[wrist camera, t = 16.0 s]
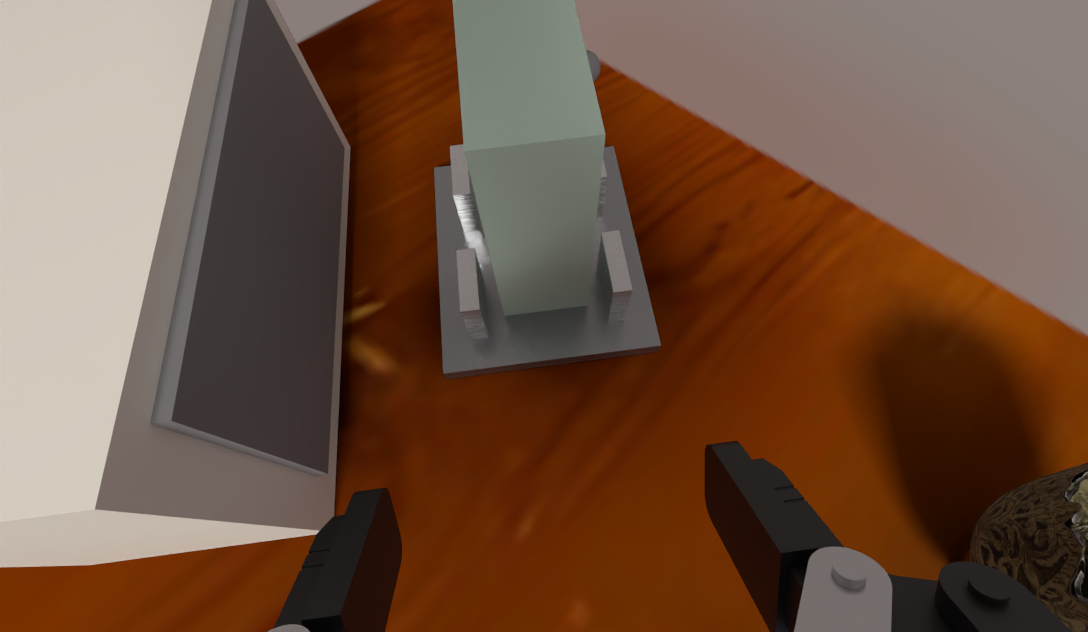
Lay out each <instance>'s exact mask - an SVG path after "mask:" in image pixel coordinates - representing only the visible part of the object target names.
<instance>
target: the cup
mask: <svg viewBox="0 0 1088 632" xmlns="http://www.w3.org/2000/svg"><path fill="white" fill-rule="evenodd" d="M961 561H966V562H974V563H979V564H983V565H986V566H989V567H992V568H994V569H997V570H999V571H1001V572H1003V573H1005V574H1007V575H1009V576H1010V577H1012V578H1014V579H1015V580H1017V581H1018V582H1019V583H1021V584H1022V585H1023V586H1024V587H1026V588H1027V589H1028V590H1029V591H1030V592H1031V593H1032V594H1033V595H1034V596H1035V597H1036V598H1037V599H1038V600H1039V601H1040V602H1042V603H1043V604H1044V605H1045V606H1046V607H1047V608H1048V609H1049V610H1050V611H1051V612H1052V613H1053V614H1054V615H1055V616H1056V617H1057V618H1058V619H1059V620H1061V621H1062V622H1063V623H1064V624H1065V625H1066V626H1067V627H1068V628H1069V629H1070V630H1071V631H1072V632H1088V463H1086V464H1082V465H1079V466H1076V467H1073V468H1070V469H1067V470H1063V471H1060V472H1057V473H1054V474H1051V475H1048V476H1045V477H1042V478H1039V479H1036V480H1034V481H1031V482H1028V483H1026V484H1024V485H1022V486H1019V487H1017V488H1015V489H1013V490H1011V491H1009V492H1008V493H1006V494H1004V495H1003V496H1001V497H1000V498H998V499H997V500H995V501H994V502H993V503H992V504H991V505H990V506H989V507H988V508H987V509H986V510H985V512H984V513H983V514H982V515H981V517H980V518H979V520H978V522H977V524H976V526H975V528H974V531H973V534H972V538H971V539H970V540H969V541H968V542H967V544H966V545H965V546H964V548H963V550H962V553H961V557H960V562H961Z"/></svg>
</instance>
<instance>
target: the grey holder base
mask: <svg viewBox="0 0 1088 632" xmlns="http://www.w3.org/2000/svg"><path fill="white" fill-rule="evenodd" d="M450 156H451V166H443V167H435V168H434V178H435V200H436V223H437V246H438V268H439V291H440V314H441V336H442V359H443V374H444V376H445V377H446V379H451V378H459V377H467V376H475V375H482V374H490V373H498V372H505V371H513V370H521V369H529V368H536V367H544V366H552V365H559V364H567V363H575V362H583V361H590V360H598V359H606V358H613V357H621V356H629V355H637V354H644V353H652V352H658V351H659V349H660V347H661V343H660V339H659V335H658V331H657V326H656V322H655V318H654V314H653V310H652V305H651V301H650V297H649V293H648V289H647V284H646V280H645V276H644V272H643V268H642V263H641V259H640V255H639V251H638V247H637V243H636V238H635V234H634V230H633V226H632V222H631V217H630V213H629V209H628V205H627V201H626V196H625V192H624V188H623V184H622V180H621V175H620V171H619V167H618V163H617V159H616V154H615V150H614V146H610V147H604V154H603V163H602V173H601V183H600V192H599V202H598V212H597V221H596V231H595V240H594V250H593V260H592V269H591V279H590V289H589V298H588V306H580V307H572V308H564V309H556V310H549V311H541V312H533V313H525V314H517V315H509V316H504V313H503V309H502V305H501V301H500V297H499V292H498V288H497V284H496V280H495V276H494V272H493V268H492V264H491V260H490V255H489V251H488V247H487V243H486V239H485V235H484V231H483V227H482V222H481V218H480V214H479V210H478V206H477V202H476V198H475V194H474V190H473V185H472V181H471V177H470V173H469V169H468V165H467V161H466V157H465V153H464V144H463V145H454V146H450Z"/></svg>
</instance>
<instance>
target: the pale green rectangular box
mask: <svg viewBox="0 0 1088 632" xmlns="http://www.w3.org/2000/svg"><path fill="white" fill-rule="evenodd" d="M453 13H454V26H455V39H456V52H457V65H458V78H459V91H460V104H461V116H462V129H463V142H464V153H465V157H466V161H467V165H468V169H469V173H470V177H471V181H472V185H473V190H474V194H475V198H476V202H477V206H478V210H479V214H480V218H481V222H482V227H483V231H484V235H485V239H486V243H487V247H488V251H489V255H490V260H491V264H492V268H493V272H494V276H495V280H496V284H497V288H498V292H499V297H500V301H501V305H502V309H503V313H504V316H509V315H517V314H525V313H533V312H541V311H549V310H556V309H564V308H572V307H580V306H588V298H589V289H590V279H591V269H592V260H593V250H594V240H595V231H596V221H597V212H598V202H599V192H600V183H601V173H602V163H603V154H604V144H605V135H606V134H605V130H604V126H603V121H602V117H601V113H600V109H599V104H598V100H597V96H596V91H595V87H594V83H593V82H594V81H595V80H596V79H597V78H598V76H599V73H600V61H599V59H598V57H597V56H596V55H595V54H594V53H593V52H591V51H589V50H586V48H585V44H584V40H583V36H582V31H581V27H580V23H579V19H578V14H577V10H576V6H575V1H574V0H453Z"/></svg>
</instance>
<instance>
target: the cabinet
mask: <svg viewBox="0 0 1088 632" xmlns="http://www.w3.org/2000/svg"><path fill="white" fill-rule="evenodd" d="M349 170H350V145H349V143H348V142H347V140H346V138H345V136H344V134H343V132H342V130H341V128H340V126H339V124H338V122H337V120H336V118H335V117H334V115H333V113H332V111H331V109H330V107H329V105H328V103H327V101H326V99H325V97H324V95H323V94H322V92H321V90H320V88H319V86H318V84H317V82H316V80H315V78H314V76H313V74H312V72H311V70H310V69H309V67H308V65H307V63H306V61H305V59H304V57H303V55H302V53H301V51H300V49H299V47H298V45H297V44H296V42H295V40H294V38H293V36H292V34H291V32H290V30H289V28H288V26H287V25H286V23H285V21H284V19H283V17H282V15H281V13H280V11H279V9H278V7H277V5H276V3H275V1H274V0H0V567H32V566H73V565H94V564H101V563H109V562H116V561H123V560H131V559H138V558H145V557H153V556H160V555H167V554H175V553H182V552H189V551H197V550H204V549H212V548H219V547H226V546H234V545H241V544H248V543H256V542H263V541H270V540H278V539H285V538H292V537H300V536H307V535H315V534H317V533H318V532H319V531H320V530H321V529H322V528H323V527H324V526H325V525H326V524H327V522H328V521H329V520H330V519H331V518H332V517H333V516H334V505H335V483H336V460H337V438H338V416H339V393H340V371H341V349H342V326H343V304H344V282H345V259H346V237H347V214H348V192H349Z"/></svg>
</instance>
